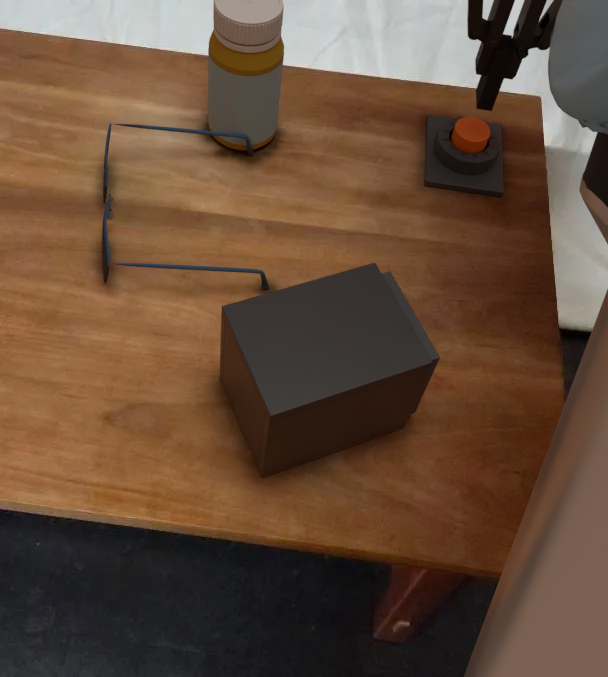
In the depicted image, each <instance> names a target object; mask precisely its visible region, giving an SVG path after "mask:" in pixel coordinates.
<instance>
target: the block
mask: <svg viewBox="0 0 608 677" xmlns="http://www.w3.org/2000/svg"><path fill="white" fill-rule="evenodd" d="M426 114H427V115H426V120H425V148H424V149H425V151H424V152H425V154H424V180H423V181H424V186H425V187H431V188H439V189H445V190H450V191H457V192H464V193H471V194H479V195H486V196H492V197H500V198H502V197H503V196H504V194H505V186H504V184H505V183H504V163H503V142H502V140H503V139H502V138H503V137H502V124H501V123H493V122H487V121H484V122H485V123H486V124H487V125H488V126H489V128H490V136H489V139H488V141H487V144H486V146H485V149H484V150H483V151H482V152H480V153H477V154H470V153H464V152H462V151H460V150H459V149H457V148H455V147H454V146H453V144H452V141H451V136H452V133H453V130H454V127H455V124H456V122H457V121H458V120H459V119H461V118H464V117H465V116H463V115H461V116H460V115H459V116H456V117H453V116H447V115H440V114H434V113H426Z"/></svg>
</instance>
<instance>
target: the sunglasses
mask: <svg viewBox="0 0 608 677" xmlns="http://www.w3.org/2000/svg"><path fill="white" fill-rule="evenodd" d="M112 125H113V123H109V125H108V129H107V134H106V138H105V147H104V155H103V156H104V157H103V179H102V180H103V183H102V199H103V201H102V202H103V204H104V209H103V210H104V211H103V216H102V226H101V227H102V231H101V260H102V263H101V264H102V278H103V280H102V281H103V283H104V285H106V284H107V282H108V277H109V273H110V266H111V252H110V245H109V237H108V220H112V219H113V218H114V211H113V209H112V208H111V203H113V202H114V199H115V198H114V197H113V196H111V193H108V197H107V192H108V186H109V160H108V159H109V150H110V148H109V147H110V141H111V133H112ZM114 125H116V126H120V127H121V126H122V127H129V128H135V129H143V130H144V129H145V130H155V131H164V132H175V133H184V134H186V133H187V134H194V135H204V136H205V135H206V136H213V135H216V136H226V137H236V138H244V139H246V145H247V150H246V152H247V156H248V157H253V156H255V153H254V150H253V149H252V146H251V142H250V139H249V137H248V136H246V135H242V134H234V133H225V132H214V131H210V130H205V129H204V130H202V129H192V128H180V127H171V126H159V125H158V126H157V125H147V124H133V123H132V124H130V123H114ZM114 265H117V266H126V267H136V268H152V269H166V270H167V269H170V270H183V271H184V270H185V271H186V270H188V271H206V272H222V273H223V272H225V273H226V272H227V273H242V274H243V273H244V274H258V275H260V281H261V288H262V289H263V290H269V289H270V285H269V282H268V278H267V276H266V274H265V272H264V271H263V270H262V269H257V268H243V267H226V266H206V265H187V264H186V265H185V264H165V263H164V264H162V263H141V262H140V263H139V262H137V263H136V262H135V263H133V262H119V263H117V262H115V263H114Z"/></svg>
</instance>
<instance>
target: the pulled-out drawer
mask: <svg viewBox="0 0 608 677" xmlns="http://www.w3.org/2000/svg"><path fill="white" fill-rule="evenodd" d="M382 275H383V277H384V279H385V280H386V282H387V284H388V286H389V287H390V289H391V291H392V293H393V294H394V296H395V298H396V300H397V301H398V303H399V305H400V307H401V308H402V310H403V312H404V314H405V315H406V317H407V319H408V320H409V322H410V324H411V326H412V327H413V329H414V331H415V333H416V334H417V336H418V338H419V340H420V341H421V343H422V345H423V347H424V348H425V350H426V352H427V354H428V355H429V357H430V359H431V361H432V365H431V367H430V369H429V372H428V374H427V376H426V378H425V380H424V383H423V385H422V387H421V389H420V392H419V394H418V396H417V398H416V401H415V403H414V405H413V407H412V410H411V412H410V414H409V416H410V415H412V414H415V413H416V411H417V409H418V408H419V405H420V403H421V400H422V398H423V396H424V394H425V392H426V390H427V388H428V385H429V383H430V380H431V379H432V376H433V374H434V372H435V370H436V367H437V366H438V363H439V361H440V360H441V356H440V355H439V353H438V350H437V349H436V348H435V346H434V344H433V342H432V341H431V339H430V337H429V335H428V333H427V331H426V330H425V329H424V326H423V325H422V323H421V322H420V320H419V318H418V316H417V315H416V313H415V311H414V309H413V308H412V306H411V304H410V302H409V301H408V300H407V297H406V296H405V294H404V292H403V291H402V289H401V287H400V286H399V283H398V282H397V280H396V279H395V277H394V275H393V274H392V272H391V271H386V272H383V273H382Z"/></svg>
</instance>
